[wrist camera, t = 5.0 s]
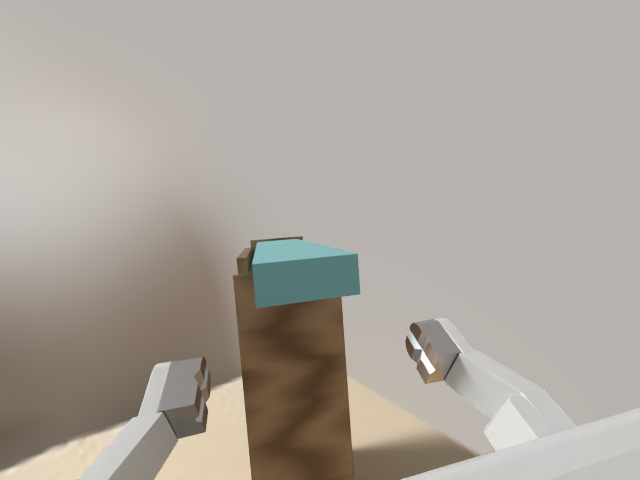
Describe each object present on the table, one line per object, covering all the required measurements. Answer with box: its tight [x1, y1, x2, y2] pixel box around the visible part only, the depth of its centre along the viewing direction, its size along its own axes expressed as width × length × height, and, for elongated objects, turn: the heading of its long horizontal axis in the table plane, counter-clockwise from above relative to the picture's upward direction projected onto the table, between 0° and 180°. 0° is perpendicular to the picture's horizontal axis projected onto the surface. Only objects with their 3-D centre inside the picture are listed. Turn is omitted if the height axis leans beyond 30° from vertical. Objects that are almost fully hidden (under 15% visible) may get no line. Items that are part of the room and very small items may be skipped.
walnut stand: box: [233, 236, 354, 480], centre depth 26 cm, size 8×12×28 cm, turn 13°
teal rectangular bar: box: [252, 239, 360, 308], centre depth 21 cm, size 4×20×2 cm, turn 13°
